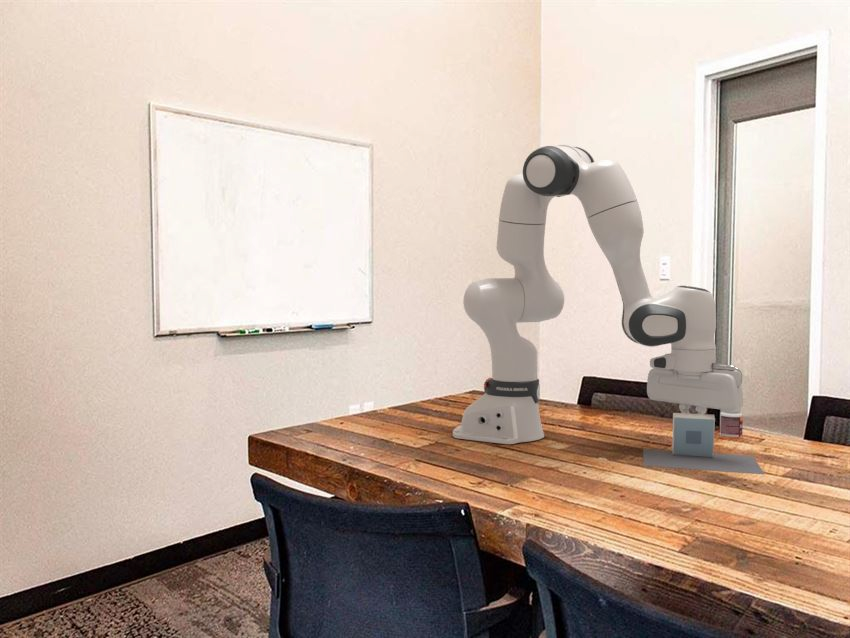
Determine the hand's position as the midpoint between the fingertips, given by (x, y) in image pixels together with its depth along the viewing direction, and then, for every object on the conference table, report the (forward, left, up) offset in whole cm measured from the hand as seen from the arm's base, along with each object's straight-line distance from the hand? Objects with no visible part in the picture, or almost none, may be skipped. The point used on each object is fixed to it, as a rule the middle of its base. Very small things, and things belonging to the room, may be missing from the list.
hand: (692, 425), depth 139 cm
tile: (0, -1, -6) cm, 6 cm away
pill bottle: (+10, +19, -7) cm, 22 cm away
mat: (+1, -5, -7) cm, 9 cm away
